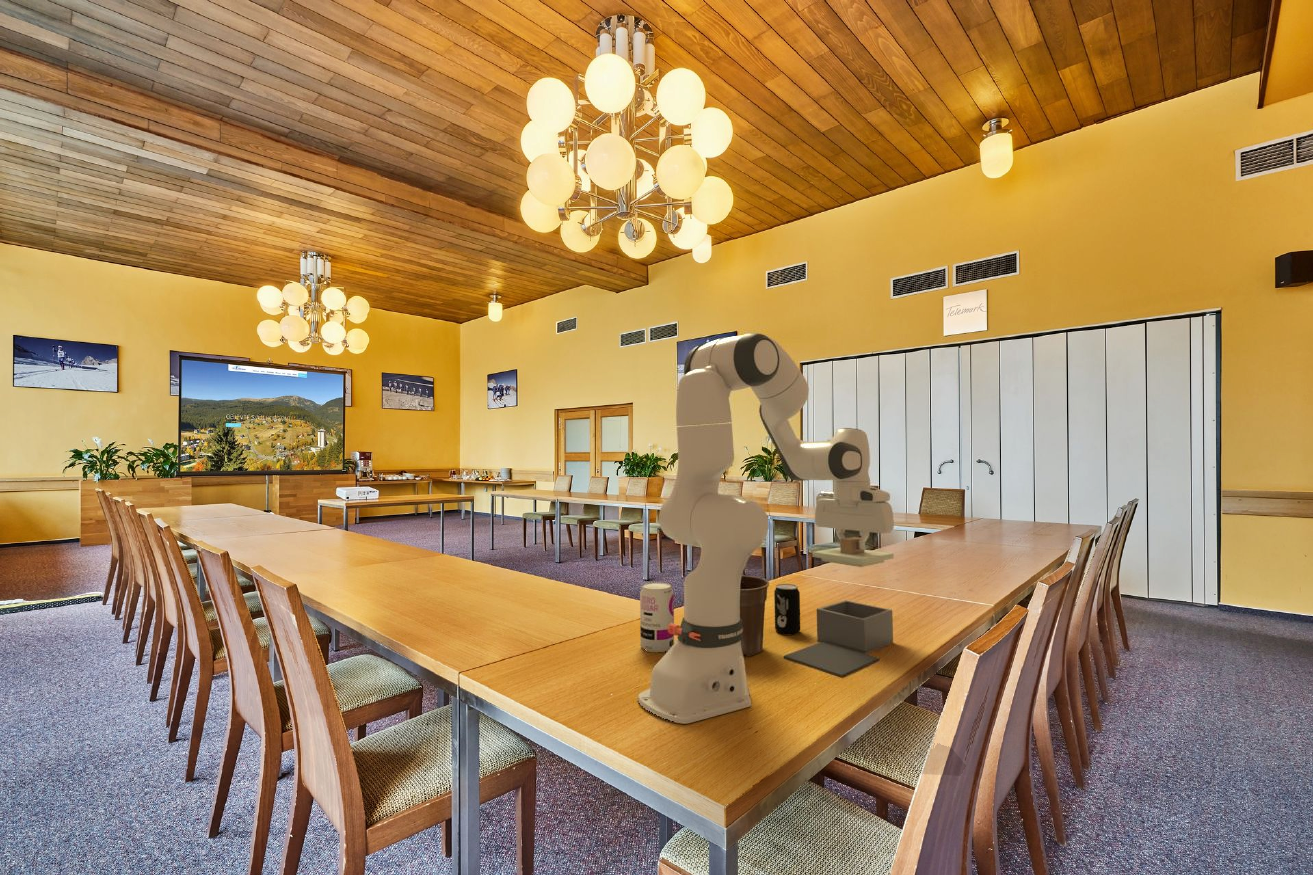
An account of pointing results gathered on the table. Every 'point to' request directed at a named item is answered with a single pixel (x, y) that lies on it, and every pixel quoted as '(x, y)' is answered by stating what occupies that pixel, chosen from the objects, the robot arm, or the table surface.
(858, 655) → the rubber mat
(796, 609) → the beverage can
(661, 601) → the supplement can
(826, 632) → the storage box
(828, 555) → the lid
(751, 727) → the table surface
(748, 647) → the plant pot
